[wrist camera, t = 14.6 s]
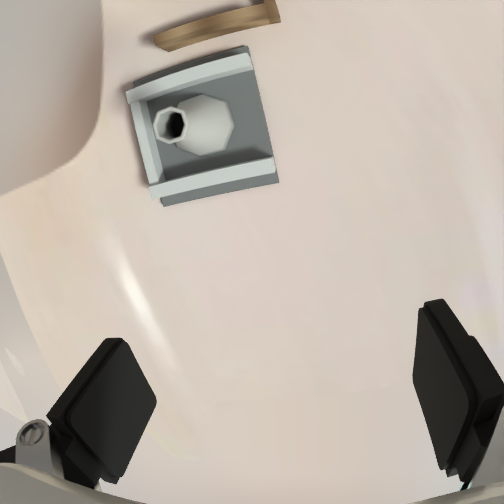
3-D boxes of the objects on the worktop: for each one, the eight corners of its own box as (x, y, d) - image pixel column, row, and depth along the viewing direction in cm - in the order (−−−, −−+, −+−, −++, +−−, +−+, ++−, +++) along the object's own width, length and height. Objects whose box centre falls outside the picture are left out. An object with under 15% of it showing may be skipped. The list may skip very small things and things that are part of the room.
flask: (173, 95, 32) (132, 86, 23) (236, 94, 31) (214, 81, 22) (171, 156, 35) (131, 167, 26) (233, 158, 34) (210, 169, 25)
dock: (248, 47, 30) (243, 39, 27) (279, 181, 35) (277, 186, 32) (135, 82, 33) (122, 80, 30) (165, 205, 38) (155, 212, 35)
